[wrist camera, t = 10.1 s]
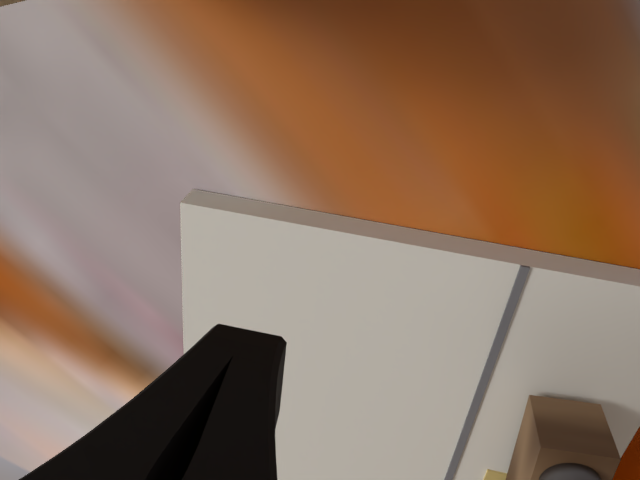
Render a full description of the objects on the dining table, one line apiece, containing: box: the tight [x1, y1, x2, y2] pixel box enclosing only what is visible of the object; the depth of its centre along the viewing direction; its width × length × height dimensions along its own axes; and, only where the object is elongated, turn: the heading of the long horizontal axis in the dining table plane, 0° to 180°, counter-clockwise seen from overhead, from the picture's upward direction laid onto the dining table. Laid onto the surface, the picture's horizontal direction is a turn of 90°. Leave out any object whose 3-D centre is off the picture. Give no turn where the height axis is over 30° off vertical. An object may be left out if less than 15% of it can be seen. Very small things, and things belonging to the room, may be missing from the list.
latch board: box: [180, 189, 640, 480], centre depth 23 cm, size 18×18×1 cm
